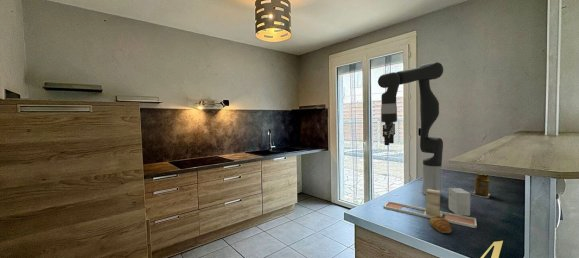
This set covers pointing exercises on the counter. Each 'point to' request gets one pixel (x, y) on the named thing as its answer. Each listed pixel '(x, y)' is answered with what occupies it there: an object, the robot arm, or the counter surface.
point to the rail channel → (431, 216)
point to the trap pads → (444, 218)
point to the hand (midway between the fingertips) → (389, 144)
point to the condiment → (481, 185)
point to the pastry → (440, 224)
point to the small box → (459, 201)
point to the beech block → (432, 202)
